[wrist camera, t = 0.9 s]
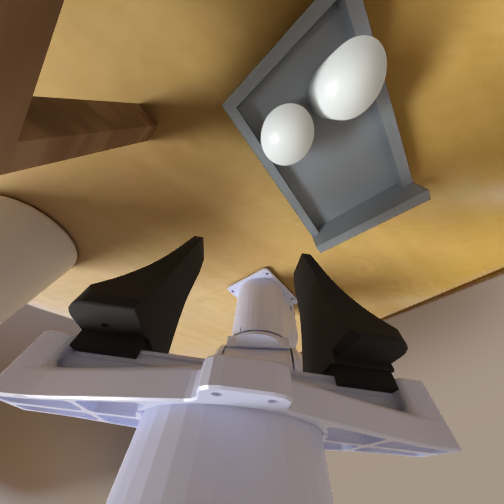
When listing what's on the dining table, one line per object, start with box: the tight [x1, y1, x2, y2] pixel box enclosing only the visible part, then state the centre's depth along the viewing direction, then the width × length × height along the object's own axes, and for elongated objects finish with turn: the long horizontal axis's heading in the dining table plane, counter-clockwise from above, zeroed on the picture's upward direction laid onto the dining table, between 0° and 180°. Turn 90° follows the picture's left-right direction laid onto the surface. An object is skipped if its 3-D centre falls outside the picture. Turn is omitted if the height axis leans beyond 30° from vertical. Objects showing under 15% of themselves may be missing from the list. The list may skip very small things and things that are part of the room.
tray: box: [222, 0, 431, 253], centre depth 15 cm, size 16×10×5 cm, turn 38°
